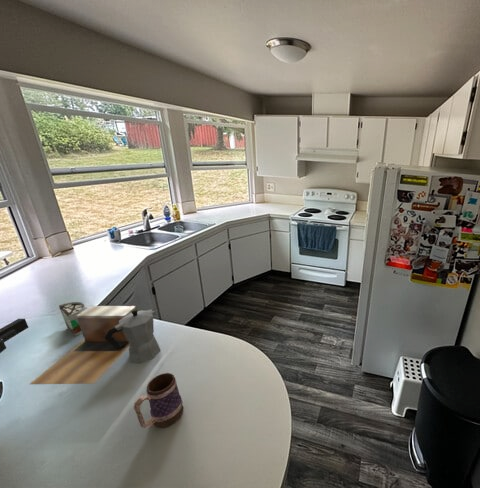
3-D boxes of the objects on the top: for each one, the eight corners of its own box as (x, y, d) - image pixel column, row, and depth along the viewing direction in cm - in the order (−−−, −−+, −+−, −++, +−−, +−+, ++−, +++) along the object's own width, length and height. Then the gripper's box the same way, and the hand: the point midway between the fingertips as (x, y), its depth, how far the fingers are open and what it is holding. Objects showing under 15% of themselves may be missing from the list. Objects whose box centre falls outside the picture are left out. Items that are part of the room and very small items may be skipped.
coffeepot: (156, 338, 93) (147, 297, 87) (172, 347, 89) (163, 304, 83) (108, 367, 80) (92, 321, 74) (124, 379, 76) (109, 331, 70)
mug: (171, 399, 71) (164, 366, 67) (189, 409, 68) (183, 375, 64) (133, 433, 62) (122, 397, 58) (152, 446, 59) (142, 410, 55)
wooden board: (29, 386, 73) (28, 384, 73) (96, 331, 96) (96, 330, 95) (94, 385, 74) (93, 383, 74) (145, 331, 97) (144, 330, 96)
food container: (98, 330, 97) (91, 308, 93) (77, 339, 92) (68, 316, 88) (86, 318, 103) (79, 297, 99) (66, 326, 98) (58, 304, 95)
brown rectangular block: (85, 341, 90) (76, 315, 86) (98, 330, 95) (90, 305, 92) (131, 341, 90) (124, 315, 87) (141, 330, 96) (135, 306, 92)
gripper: (-162, 429, 42) (2, 335, 64) (-79, 428, 43) (55, 335, 65) (-191, 397, 40) (-10, 310, 62) (-102, 395, 40) (45, 310, 63)
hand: (23, 323), depth 63 cm, fingers closed
